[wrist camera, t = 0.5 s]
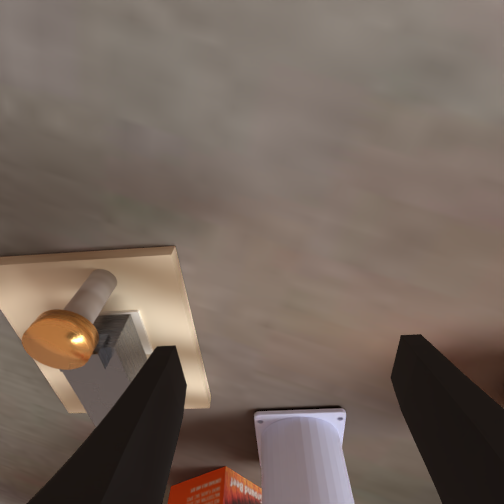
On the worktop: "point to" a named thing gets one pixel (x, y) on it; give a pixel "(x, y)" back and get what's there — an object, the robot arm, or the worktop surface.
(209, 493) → the cereal box
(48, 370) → the tan piece
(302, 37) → the worktop surface
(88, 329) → the swing bar
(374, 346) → the worktop surface
